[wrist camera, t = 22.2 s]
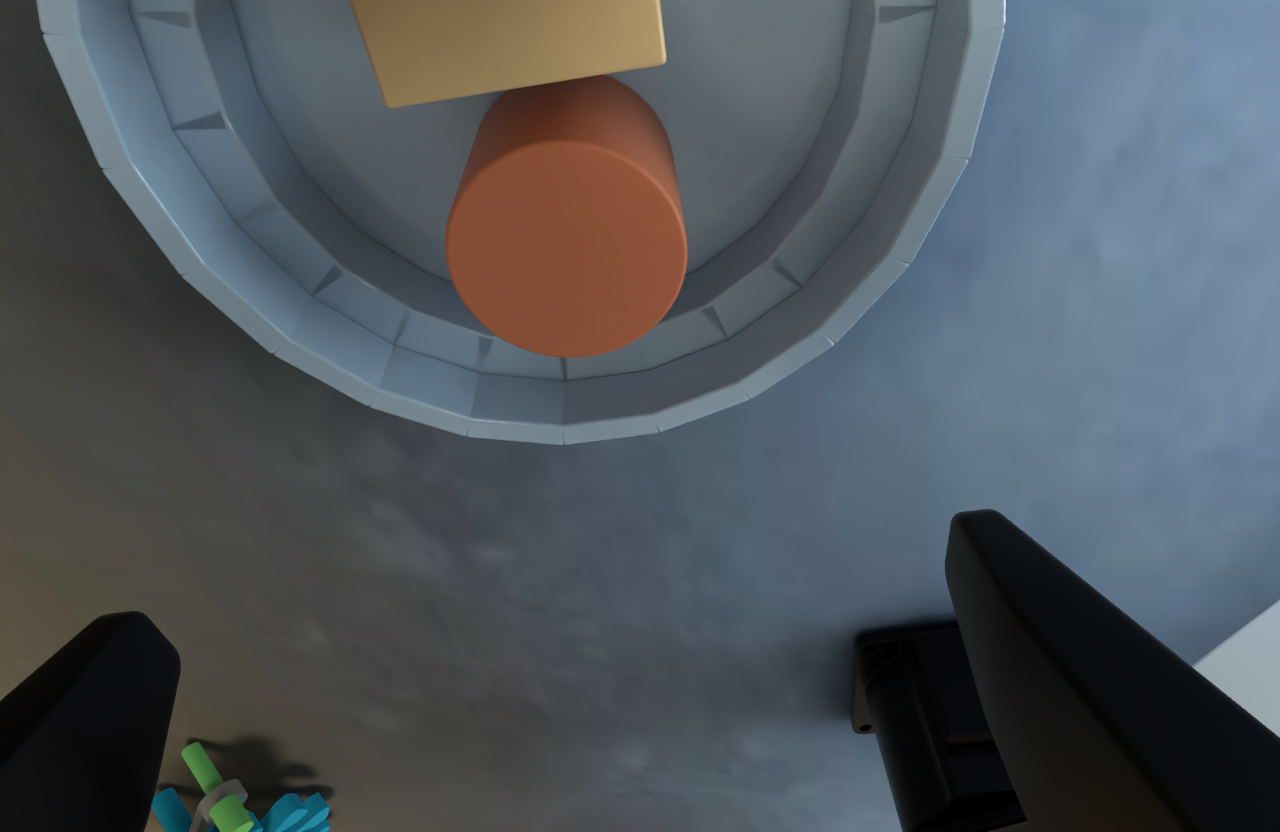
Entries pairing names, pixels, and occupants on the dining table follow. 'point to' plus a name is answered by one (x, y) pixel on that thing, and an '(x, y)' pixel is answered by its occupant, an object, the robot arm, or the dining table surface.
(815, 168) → the bowl
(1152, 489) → the dining table surface
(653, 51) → the birch cube
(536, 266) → the terracotta cylinder
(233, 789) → the blue toy stand
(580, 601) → the dining table surface
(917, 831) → the robot arm
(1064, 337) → the dining table surface
